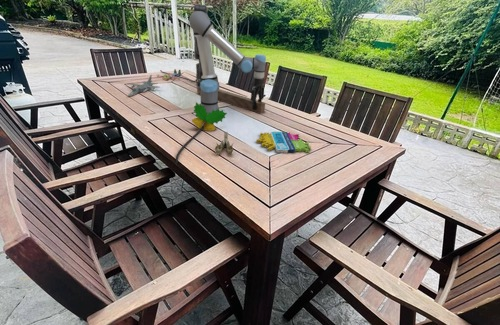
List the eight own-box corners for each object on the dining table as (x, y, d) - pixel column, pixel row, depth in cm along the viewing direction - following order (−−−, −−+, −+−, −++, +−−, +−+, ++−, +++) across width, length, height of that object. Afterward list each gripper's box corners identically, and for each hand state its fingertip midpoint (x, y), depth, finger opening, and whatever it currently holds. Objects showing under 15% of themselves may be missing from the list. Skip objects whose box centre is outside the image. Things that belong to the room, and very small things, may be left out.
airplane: (122, 86, 238) (120, 75, 233) (157, 84, 251) (156, 73, 246) (126, 99, 210) (124, 86, 204) (166, 95, 223) (165, 83, 218)
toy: (189, 70, 290) (176, 74, 264) (189, 77, 293) (177, 81, 267) (166, 67, 295) (151, 71, 269) (167, 74, 298) (152, 78, 272)
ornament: (218, 133, 171) (224, 110, 169) (221, 134, 163) (227, 111, 161) (186, 125, 162) (192, 101, 160) (189, 126, 155) (195, 101, 153)
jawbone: (234, 135, 144) (233, 125, 135) (233, 160, 138) (232, 151, 129) (217, 135, 144) (216, 125, 135) (216, 160, 138) (214, 150, 129)
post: (264, 112, 200) (265, 103, 197) (260, 113, 197) (261, 104, 193) (201, 91, 237) (201, 83, 233) (197, 92, 233) (196, 84, 229)
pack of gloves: (313, 150, 142) (258, 149, 139) (312, 153, 143) (258, 152, 140) (301, 132, 164) (254, 130, 161) (301, 134, 165) (254, 133, 162)
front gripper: (262, 75, 198) (259, 105, 209) (246, 78, 184) (245, 110, 196) (270, 77, 194) (267, 107, 205) (255, 80, 181) (252, 112, 192)
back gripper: (206, 69, 229) (206, 88, 237) (193, 70, 219) (194, 91, 227) (212, 70, 225) (212, 90, 233) (200, 72, 215) (200, 92, 223)
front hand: (256, 108), depth 200 cm, fingers open, 6 cm apart
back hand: (203, 90), depth 230 cm, fingers closed on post, 5 cm apart
